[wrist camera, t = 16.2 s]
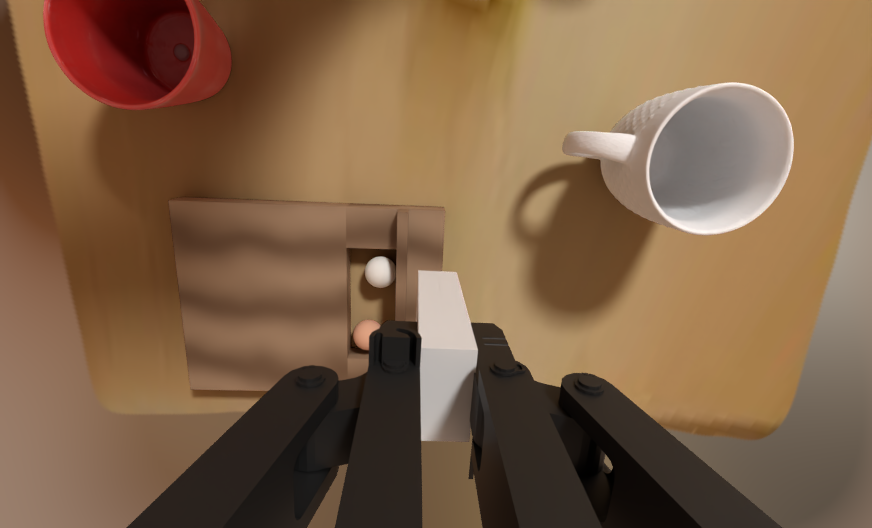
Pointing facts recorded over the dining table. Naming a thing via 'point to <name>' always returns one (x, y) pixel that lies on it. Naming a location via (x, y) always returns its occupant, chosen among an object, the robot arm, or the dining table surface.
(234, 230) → the board
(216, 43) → the flower pot
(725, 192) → the mug
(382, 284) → the ball white
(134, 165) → the dining table surface
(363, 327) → the ball terracotta
